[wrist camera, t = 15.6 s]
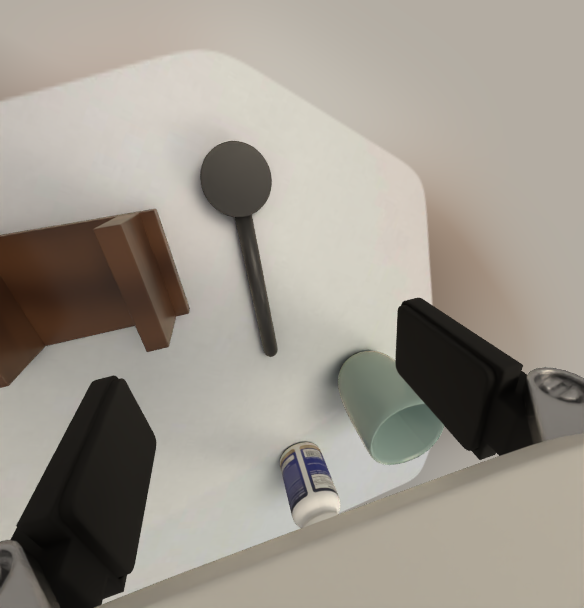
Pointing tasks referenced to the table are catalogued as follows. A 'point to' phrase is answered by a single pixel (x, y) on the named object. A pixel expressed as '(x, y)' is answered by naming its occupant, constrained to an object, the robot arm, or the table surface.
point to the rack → (86, 285)
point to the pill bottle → (308, 485)
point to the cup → (386, 409)
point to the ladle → (243, 214)
